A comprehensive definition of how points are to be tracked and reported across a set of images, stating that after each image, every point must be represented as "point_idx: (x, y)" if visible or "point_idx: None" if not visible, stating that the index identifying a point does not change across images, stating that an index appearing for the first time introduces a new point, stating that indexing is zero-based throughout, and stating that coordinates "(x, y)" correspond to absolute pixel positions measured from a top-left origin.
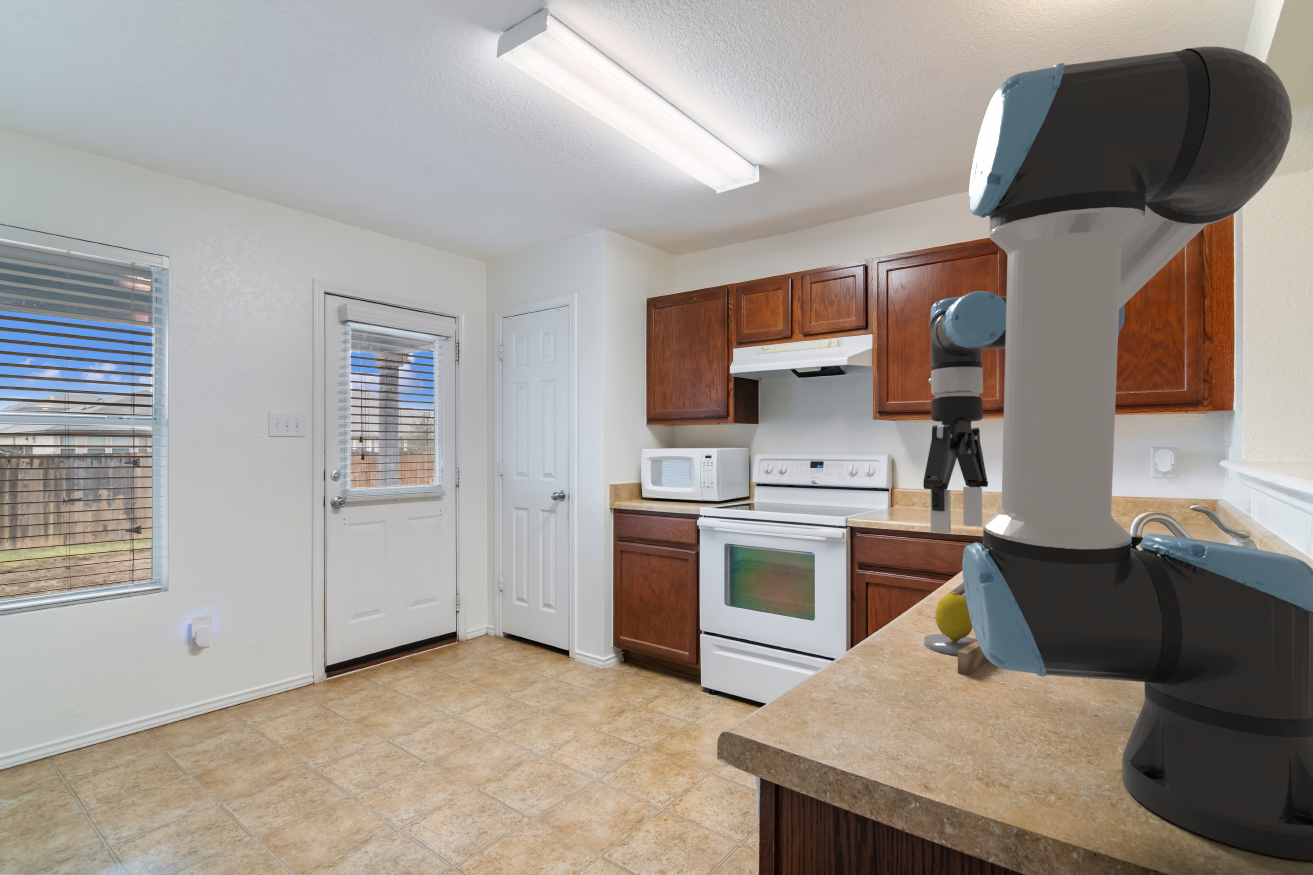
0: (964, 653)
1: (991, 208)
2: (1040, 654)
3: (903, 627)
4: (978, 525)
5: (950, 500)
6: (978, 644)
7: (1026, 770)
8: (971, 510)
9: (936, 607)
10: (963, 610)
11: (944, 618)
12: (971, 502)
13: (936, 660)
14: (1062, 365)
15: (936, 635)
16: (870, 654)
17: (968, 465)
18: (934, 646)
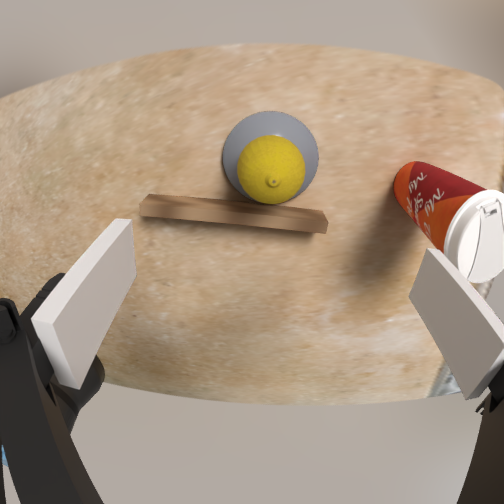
0: (140, 212)
1: None
2: None
3: (338, 58)
4: (413, 293)
5: (95, 354)
6: (195, 217)
7: (16, 284)
8: (442, 305)
9: (266, 139)
10: (249, 195)
11: (238, 159)
12: (455, 326)
13: (181, 155)
14: None
15: (293, 124)
16: (141, 73)
17: (479, 483)
18: (227, 138)
